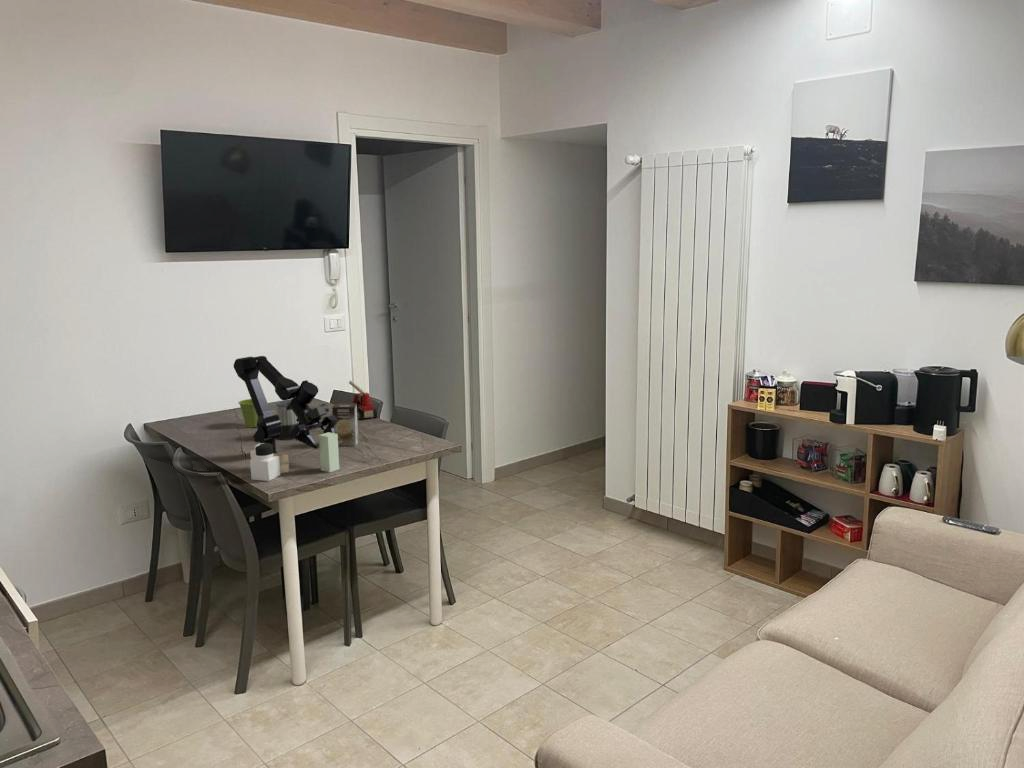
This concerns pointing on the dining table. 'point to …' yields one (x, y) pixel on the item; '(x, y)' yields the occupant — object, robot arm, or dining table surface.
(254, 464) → the medicine bottle
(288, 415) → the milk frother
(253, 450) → the plastic canister
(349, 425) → the coffee box
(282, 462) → the birch block
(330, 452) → the sage block
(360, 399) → the toy fire truck
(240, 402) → the plant pot
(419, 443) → the dining table surface
